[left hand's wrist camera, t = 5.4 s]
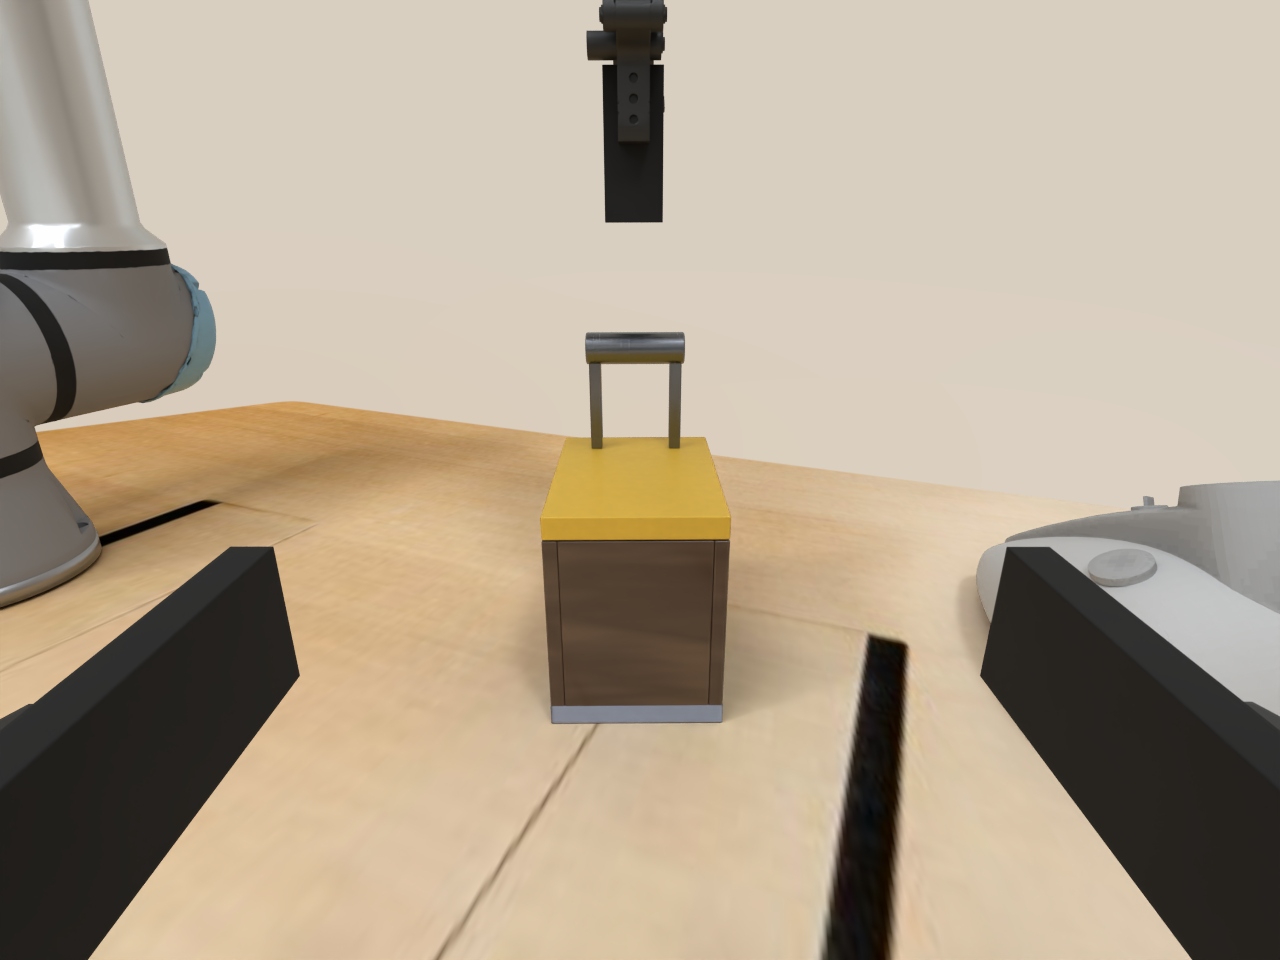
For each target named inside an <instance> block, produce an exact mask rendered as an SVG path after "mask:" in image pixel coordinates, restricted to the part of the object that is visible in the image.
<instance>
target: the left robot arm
mask: <svg viewBox="0 0 1280 960" xmlns="http://www.w3.org/2000/svg"><path fill="white" fill-rule="evenodd" d="M299 676H300V674H299V669H298V665H297V660H296V655H295V650H294V645H293V640H292V635H291V631H290V626H289V621H288V616H287V611H286V606H285V601H284V597H283V592H282V587H281V582H280V577H279V572H278V567H277V562H276V558H275V553H274V548H273V547H230V548H228V549H227V550H226V551H225V552H223V553H222V554H221V555H219V556H218V557H217V558H216V559H214V560H213V561H212V562H211V563H209V564H208V565H207V566H206V567H204V568H203V569H202V570H201V571H199V572H198V573H197V574H196V575H194V576H193V577H192V578H191V579H189V580H188V581H187V582H186V583H184V584H183V585H182V586H181V587H179V588H178V589H177V590H176V591H174V592H173V593H172V594H171V595H169V596H168V597H167V598H166V599H164V600H163V601H162V602H161V603H159V604H158V605H157V606H156V607H154V608H153V609H152V610H151V611H149V612H148V613H147V614H146V615H144V616H143V617H142V618H141V619H139V620H138V621H137V622H135V623H134V624H133V625H132V626H130V627H129V628H128V629H127V630H125V631H124V632H123V633H122V634H120V635H119V636H118V637H117V638H115V639H114V640H113V641H112V642H110V643H109V644H108V645H107V646H105V647H104V648H103V649H102V650H100V651H99V652H98V653H97V654H95V655H94V656H93V657H92V658H90V659H89V660H88V661H87V662H85V663H84V664H83V665H82V666H80V667H79V668H78V669H77V670H75V671H74V672H73V673H72V674H70V675H69V676H68V677H67V678H65V679H64V680H63V681H62V682H60V683H59V684H58V685H57V686H55V687H54V688H53V689H51V690H50V691H49V692H48V693H46V694H45V695H44V696H43V697H41V698H40V699H39V700H38V701H36V702H35V703H34V704H28V705H26V706H24V707H22V708H20V709H19V710H17V711H15V712H13V713H11V714H9V715H7V716H5V717H4V718H2V719H0V960H88V959H89V957H90V956H91V955H92V953H93V952H94V951H95V949H96V948H97V947H98V945H99V944H100V943H101V941H102V940H103V939H104V937H105V936H106V935H107V933H108V932H109V931H110V929H111V928H112V927H113V925H114V924H115V923H116V921H117V920H118V919H119V917H120V916H121V915H122V913H123V912H124V911H125V909H126V908H127V907H128V905H129V904H130V902H131V901H132V900H133V898H134V897H135V896H136V894H137V893H138V892H139V890H140V889H141V888H142V886H143V885H144V884H145V882H146V881H147V880H148V878H149V877H150V876H151V874H152V873H153V872H154V870H155V869H156V868H157V866H158V865H159V864H160V862H161V861H162V860H163V858H164V857H165V856H166V854H167V853H168V852H169V850H170V849H171V848H172V846H173V845H174V844H175V842H176V841H177V840H178V838H179V837H180V836H181V834H182V833H183V832H184V830H185V829H186V827H187V826H188V825H189V823H190V822H191V821H192V819H193V818H194V817H195V815H196V814H197V813H198V811H199V810H200V809H201V807H202V806H203V805H204V803H205V802H206V801H207V799H208V798H209V797H210V795H211V794H212V793H213V791H214V790H215V789H216V787H217V786H218V785H219V783H220V782H221V781H222V779H223V778H224V777H225V775H226V774H227V773H228V771H229V770H230V769H231V767H232V766H233V765H234V763H235V762H236V761H237V759H238V758H239V757H240V755H241V754H242V752H243V751H244V750H245V748H246V747H247V746H248V744H249V743H250V742H251V740H252V739H253V738H254V736H255V735H256V734H257V732H258V731H259V730H260V728H261V727H262V726H263V724H264V723H265V722H266V720H267V719H268V718H269V716H270V715H271V714H272V712H273V711H274V710H275V708H276V707H277V706H278V704H279V703H280V702H281V700H282V699H283V698H284V696H285V695H286V694H287V692H288V691H289V690H290V688H291V687H292V686H293V684H294V683H295V682H296V680H297V679H298V677H299ZM980 676H981V677H982V679H983V680H984V682H985V683H986V684H987V686H988V687H989V688H990V690H991V691H992V692H993V694H994V695H995V696H996V698H997V699H998V700H999V702H1000V703H1001V704H1002V706H1003V707H1004V708H1005V710H1006V711H1007V712H1008V714H1009V715H1010V716H1011V718H1012V719H1013V720H1014V722H1015V723H1016V724H1017V726H1018V727H1019V728H1020V730H1021V731H1022V732H1023V734H1024V735H1025V736H1026V738H1027V739H1028V740H1029V742H1030V743H1031V744H1032V746H1033V747H1034V748H1035V750H1036V751H1037V752H1038V754H1039V755H1040V757H1041V758H1042V759H1043V761H1044V762H1045V763H1046V765H1047V766H1048V767H1049V769H1050V770H1051V771H1052V773H1053V774H1054V775H1055V777H1056V778H1057V779H1058V781H1059V782H1060V783H1061V785H1062V786H1063V787H1064V789H1065V790H1066V791H1067V793H1068V794H1069V795H1070V797H1071V798H1072V799H1073V801H1074V802H1075V803H1076V805H1077V806H1078V807H1079V809H1080V810H1081V811H1082V813H1083V814H1084V815H1085V817H1086V818H1087V819H1088V821H1089V822H1090V823H1091V825H1092V826H1093V827H1094V829H1095V830H1096V832H1097V833H1098V834H1099V836H1100V837H1101V838H1102V840H1103V841H1104V842H1105V844H1106V845H1107V846H1108V848H1109V849H1110V850H1111V852H1112V853H1113V854H1114V856H1115V857H1116V858H1117V860H1118V861H1119V862H1120V864H1121V865H1122V866H1123V868H1124V869H1125V870H1126V872H1127V873H1128V874H1129V876H1130V877H1131V878H1132V880H1133V881H1134V882H1135V884H1136V885H1137V886H1138V888H1139V889H1140V890H1141V892H1142V893H1143V894H1144V896H1145V897H1146V898H1147V900H1148V901H1149V903H1150V904H1151V905H1152V907H1153V908H1154V909H1155V911H1156V912H1157V913H1158V915H1159V916H1160V917H1161V919H1162V920H1163V921H1164V923H1165V924H1166V925H1167V927H1168V928H1169V929H1170V931H1171V932H1172V933H1173V935H1174V936H1175V937H1176V939H1177V940H1178V941H1179V943H1180V944H1181V945H1182V947H1183V948H1184V949H1185V951H1186V952H1187V953H1188V955H1189V956H1190V957H1191V959H1192V960H1280V716H1278V715H1277V714H1275V713H1273V712H1271V711H1269V710H1267V709H1265V708H1263V707H1261V706H1260V705H1258V704H1256V703H1254V702H1244V701H1242V700H1241V699H1240V698H1239V697H1237V696H1236V695H1235V694H1234V693H1232V692H1231V691H1230V690H1229V689H1227V688H1226V687H1225V686H1223V685H1222V684H1221V683H1220V682H1218V681H1217V680H1216V679H1215V678H1213V677H1212V676H1211V675H1210V674H1208V673H1207V672H1206V671H1205V670H1203V669H1202V668H1201V667H1200V666H1198V665H1197V664H1196V663H1195V662H1193V661H1192V660H1191V659H1190V658H1188V657H1187V656H1186V655H1185V654H1183V653H1182V652H1181V651H1180V650H1178V649H1177V648H1176V647H1175V646H1173V645H1172V644H1171V643H1170V642H1168V641H1167V640H1166V639H1165V638H1163V637H1162V636H1161V635H1160V634H1158V633H1157V632H1156V631H1155V630H1153V629H1152V628H1151V627H1150V626H1148V625H1147V624H1146V623H1145V622H1143V621H1142V620H1141V619H1139V618H1138V617H1137V616H1136V615H1134V614H1133V613H1132V612H1131V611H1129V610H1128V609H1127V608H1126V607H1124V606H1123V605H1122V604H1121V603H1119V602H1118V601H1117V600H1116V599H1114V598H1113V597H1112V596H1111V595H1109V594H1108V593H1107V592H1106V591H1104V590H1103V589H1102V588H1101V587H1099V586H1098V585H1097V584H1096V583H1094V582H1093V581H1092V580H1091V579H1089V578H1088V577H1087V576H1086V575H1084V574H1083V573H1082V572H1081V571H1079V570H1078V569H1077V568H1076V567H1074V566H1073V565H1072V564H1071V563H1069V562H1068V561H1067V560H1066V559H1064V558H1063V557H1062V556H1061V555H1059V554H1058V553H1057V552H1055V551H1054V550H1053V549H1052V548H1050V547H1007V548H1006V553H1005V558H1004V562H1003V567H1002V572H1001V577H1000V582H999V587H998V592H997V596H996V601H995V606H994V611H993V616H992V621H991V626H990V631H989V635H988V640H987V645H986V650H985V655H984V660H983V665H982V669H981V674H980Z"/></svg>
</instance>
